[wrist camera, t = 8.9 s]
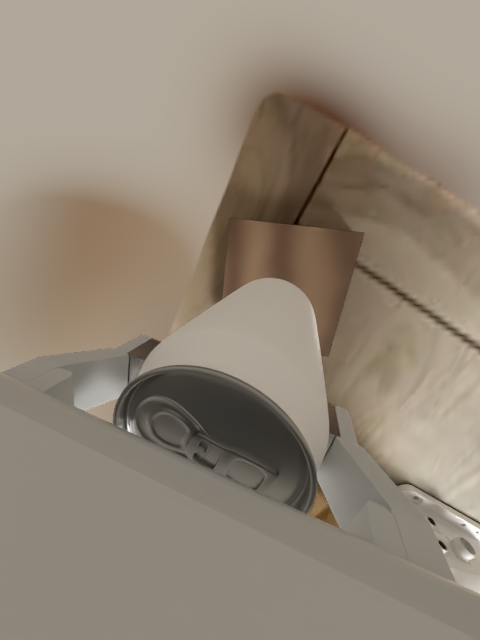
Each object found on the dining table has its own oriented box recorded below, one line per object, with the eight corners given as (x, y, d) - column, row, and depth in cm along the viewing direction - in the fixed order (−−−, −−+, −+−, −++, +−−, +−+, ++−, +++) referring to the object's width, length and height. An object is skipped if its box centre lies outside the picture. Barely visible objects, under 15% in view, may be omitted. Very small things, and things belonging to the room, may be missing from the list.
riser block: (353, 234, 29) (364, 232, 23) (324, 338, 34) (328, 356, 29) (242, 222, 32) (229, 218, 27) (231, 319, 37) (219, 332, 32)
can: (249, 260, 16) (120, 298, 5) (333, 302, 15) (409, 455, 4) (217, 334, 18) (86, 468, 7) (288, 372, 18) (260, 582, 7)
